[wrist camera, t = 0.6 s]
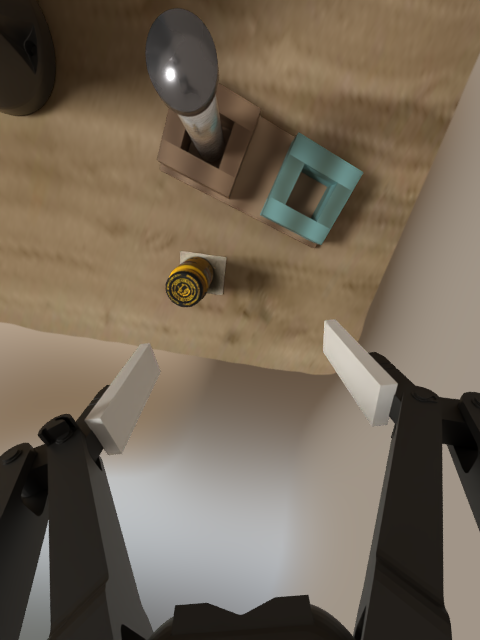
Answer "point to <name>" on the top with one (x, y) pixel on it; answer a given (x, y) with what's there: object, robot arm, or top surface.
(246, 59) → the top surface
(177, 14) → the steel pin
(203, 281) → the condiment
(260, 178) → the dock station
